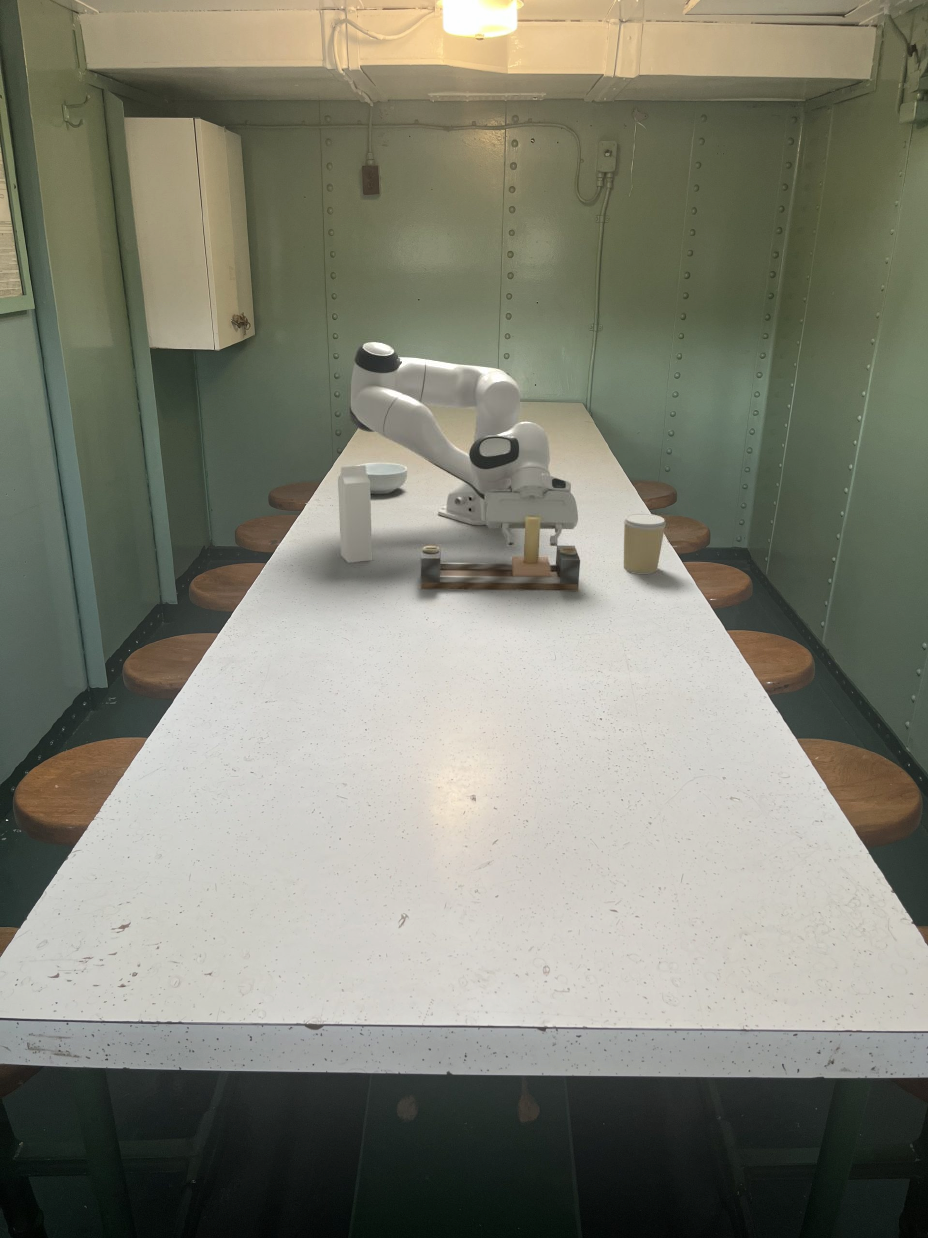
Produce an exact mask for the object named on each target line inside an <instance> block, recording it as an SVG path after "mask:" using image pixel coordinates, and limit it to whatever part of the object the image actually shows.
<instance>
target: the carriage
mask: <svg viewBox="0 0 928 1238" xmlns="http://www.w3.org/2000/svg"><path fill="white" fill-rule="evenodd" d="M540 532H541V529H540V517H538V516H527V517H526V521H525V529H524V545H523V546H524V549H523V550H524V551H523V556H522V555H521V556H511V563H512V575H513V577H550V571H551V566H550V564H551V563H550V560H549V557H548V556H540V555H539V554H540V553H539V552H540V539H541V538H540V537H541V536H540V534H541V533H540Z"/></svg>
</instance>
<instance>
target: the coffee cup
mask: <svg viewBox="0 0 928 1238" xmlns="http://www.w3.org/2000/svg"><path fill="white" fill-rule="evenodd" d="M623 524H624V527H623V528H624V529H623V530H624V531H623V532H624V533H623V569H624V570H625V571H627V572H629V573H633V574H638V575H649V574H653V573H656V572H657V571H658V567H659V561H660V555H661V552H662V551H661V550H662V545H663V540H664V539H663V538H664V533H665V527H666V524H667V523H666V520H665V518H663V517H662V516H660V515H656V514H652V513H631V514H629V515H627V516H625V518H624V519H623Z"/></svg>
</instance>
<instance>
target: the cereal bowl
mask: <svg viewBox="0 0 928 1238" xmlns="http://www.w3.org/2000/svg"><path fill="white" fill-rule="evenodd" d="M362 465H365V466H366V473H367V475H368V478H369V480H370V494H371V495H372V494H373V495H384V494H386V495H387V494H390V492H391V493H392V492H393V491H394V490H397V489H399V488H401V487H402V486H404V484H405V483H406V480H407V478H408V467H407V466H405V465H403V464H398V463H394V462H392V463H391V462H370V463H362V464H358V465H356V466H362Z"/></svg>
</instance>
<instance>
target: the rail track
mask: <svg viewBox="0 0 928 1238" xmlns="http://www.w3.org/2000/svg"><path fill="white" fill-rule="evenodd" d="M441 546H442V544H441V543H422V549H421V554H420V555H421V556H420V586H421V588H420V589H422V590H470V591H475V590H477V591H478V590H481V591H482V590H484V591H486V590H487V591H555V592H556V591H561V592H563V591H564V592H565V591H566V592H567V591H568V592H569V591H571V592H573V591H575V592H577V591H578V592H579V583H580V582H579V581H580V567H581V559H580V556H579V554H578V550H577V548H576V545H561V544H560V545H559V544H557V546H556V551H555V553H556V555H555V563H550V566H551V571H550V577H513V575H512V562H511V563H508V562H507V563H501V562H499V563H497V562H491V563H490V562H442V559H441V558H442V547H441Z"/></svg>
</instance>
